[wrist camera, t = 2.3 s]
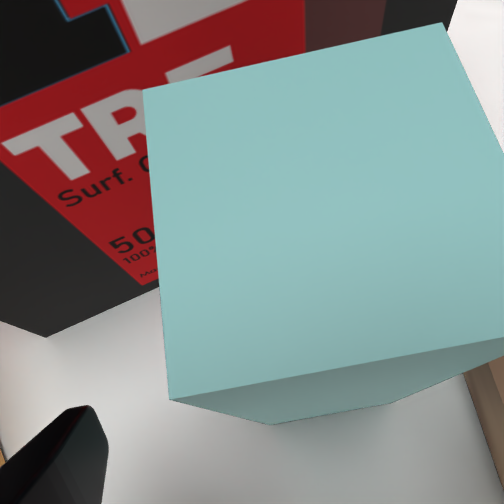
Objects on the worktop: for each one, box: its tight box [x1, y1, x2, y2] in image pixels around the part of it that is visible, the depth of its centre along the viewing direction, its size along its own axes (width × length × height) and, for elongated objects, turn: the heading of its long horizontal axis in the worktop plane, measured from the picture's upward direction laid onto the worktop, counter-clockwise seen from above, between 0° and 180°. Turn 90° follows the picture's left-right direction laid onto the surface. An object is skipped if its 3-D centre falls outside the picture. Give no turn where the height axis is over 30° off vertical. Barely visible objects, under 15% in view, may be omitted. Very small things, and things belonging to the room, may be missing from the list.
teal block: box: [142, 22, 504, 425], centre depth 11 cm, size 4×4×12 cm
